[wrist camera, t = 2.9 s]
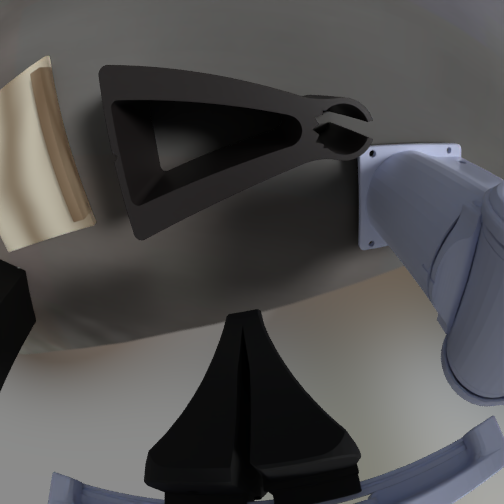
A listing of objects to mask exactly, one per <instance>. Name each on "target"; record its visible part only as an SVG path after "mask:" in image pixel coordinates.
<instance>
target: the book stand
mask: <svg viewBox="0 0 504 504" xmlns="http://www.w3.org/2000/svg"><path fill="white" fill-rule="evenodd" d="M95 224H96V219H95V217H94V214H93V212H92V209H91V207H90V204H89V202H88V199H87V196H86V194H85V191H84V188H83V185H82V183H81V180H80V177H79V174H78V171H77V168H76V165H75V162H74V159H73V156H72V152H71V149H70V146H69V142H68V139H67V135H66V132H65V128H64V124H63V120H62V116H61V112H60V108H59V104H58V99H57V95H56V90H55V85H54V79H53V74H52V68H51V62H50V56H45V57H43V58H42V59H41V60H39V61H38V62H36V63H35V64H33V65H32V66H30V67H29V68H28V69H26V70H25V71H24V72H22V73H21V74H20V75H18V76H17V77H16V78H14V79H13V80H12V81H11V82H9V83H8V84H7V85H6V86H4V87H3V88H2V89H1V90H0V236H1V238H2V240H3V242H4V244H5V246H6V248H7V250H8V252H11V251H14V250H17V249H20V248H23V247H25V246H28V245H31V244H34V243H37V242H40V241H43V240H47V239H50V238H53V237H56V236H59V235H62V234H66V233H69V232H72V231H76V230H79V229H83V228H86V227H89V226H93V225H95Z"/></svg>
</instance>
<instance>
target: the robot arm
mask: <svg viewBox="0 0 504 504" xmlns="http://www.w3.org/2000/svg"><path fill="white" fill-rule="evenodd" d="M447 148H448V151H447ZM371 150H373V151H374V153H373V155H372V156H370V155H369V153H370V151H371ZM358 182H359V238H358V245H359V247H360V248H361V249H362V250H368V249H374V248H379V247H384V246H389V247H390V248H391V249H392V251H393V252H394V253H395V254H396V256H397V257H398V258H399V259H400V261H401V262H402V263H403V264H404V266H405V267H406V268H407V270H408V271H409V272H410V274H411V275H412V276H413V278H414V279H415V280H416V282H417V283H418V284H419V286H420V287H421V289H422V290H423V291H424V293H425V294H426V296H427V297H428V298H429V300H430V301H431V303H432V305H433V306H434V307H435V309H436V310H437V312H438V317H437V321H438V322H439V324H440V325H441V327H442V328H443V330H444V332H445V333H446V334H447V335H446V337H445V339H444V342H443V345H442V350H441V362H442V368H443V371H444V375H445V377H446V379H447V381H448V383H449V384H450V386H451V387H452V389H453V390H454V391H455V392H456V393H457V394H458V395H459V396H461V397H462V398H463V399H464V400H466V401H468V402H470V403H472V404H476V405H479V406H495V405H504V180H503V179H501V178H499V177H498V176H496V175H494V174H492V173H491V172H489V171H487V170H485V169H483V168H481V167H479V166H477V165H475V164H473V163H471V162H469V161H467V160H465V159H463V158H461V146H460V145H459V144H456V143H411V144H388V145H372V146H370V147H369V148H368V150H367V151H366V152H365V153H364V154H362V155H361V156H359V157H358ZM370 241H372V243H371V244H369V242H370ZM360 458H361V453H360V451H359V449H358V447H357V445H356V443H355V442H354V441H353V439H352V438H351V436H350V435H349V434H348V432H347V431H346V430H345V429H344V428H343V427H342V426H341V425H339V424H338V423H337V422H336V421H335V420H334V419H333V418H331V417H330V416H329V415H328V414H327V413H326V412H325V411H324V410H323V409H322V408H321V407H320V406H319V405H318V404H317V403H316V402H315V401H314V400H313V399H312V398H311V396H310V395H309V394H308V393H307V392H306V391H305V390H304V388H303V387H302V386H301V385H300V384H299V382H298V381H297V380H296V379H295V377H294V376H293V375H292V373H291V372H290V370H289V369H288V368H287V366H286V365H285V363H284V361H283V360H282V358H281V357H280V355H279V354H278V352H277V350H276V349H275V347H274V345H273V343H272V341H271V339H270V337H269V335H268V333H267V331H266V328H265V326H264V322H263V318H262V314H261V311H260V310H258V309H256V310H251V311H245V312H239V313H234V314H229V315H228V316H227V317H226V322H225V325H224V329H223V332H222V335H221V338H220V341H219V344H218V346H217V349H216V351H215V354H214V357H213V359H212V361H211V363H210V366H209V368H208V370H207V372H206V374H205V376H204V378H203V380H202V382H201V384H200V386H199V387H198V389H197V391H196V393H195V394H194V396H193V398H192V399H191V401H190V402H189V404H188V405H187V407H186V408H185V410H184V411H183V413H182V414H181V415H180V417H179V418H178V419H177V420H176V422H175V423H174V424H173V425H172V427H171V428H170V429H169V430H168V432H167V433H166V434H165V435H164V436H163V437H162V438H161V439H160V440H159V441H158V442H157V443H156V444H155V445H154V446H153V447H152V448H151V449H150V450H149V452H148V456H147V460H146V466H145V476H144V482H145V483H146V484H147V485H148V486H150V487H152V488H155V489H158V490H160V491H163V492H165V500H161V499H153V498H146V497H140V496H134V495H129V494H123V493H119V492H114V491H109V490H105V489H101V488H97V487H93V486H90V485H86V484H83V483H82V482H80V481H78V480H75V479H73V478H70V477H68V476H65V475H62V474H59V473H56V472H53V475H52V480H51V487H50V493H49V500H48V504H338V503H342V502H345V501H349V500H353V499H356V498H360V497H363V496H366V495H369V494H371V495H370V496H369V497H368V500H364V501H361V502H358V503H355V504H453V503H454V502H456V501H458V500H459V499H461V498H462V497H464V496H465V495H467V494H468V493H469V492H471V491H472V490H474V489H475V488H477V487H478V486H479V485H480V484H482V483H483V482H485V481H486V480H487V479H489V478H490V477H492V476H493V475H494V474H495V473H497V472H498V471H499V470H501V469H502V468H503V467H504V437H503V435H502V432H501V430H500V427H499V425H498V423H497V421H496V419H495V416H491V417H490V418H488V419H487V420H485V421H484V422H482V423H481V424H479V425H478V426H476V427H474V428H473V429H472V430H470V431H469V432H468V433H466V434H465V435H464V436H463V437H462V438H461V439H459V440H457V441H455V442H454V443H452V444H450V445H448V446H446V447H444V448H442V449H440V450H438V451H437V452H434V453H432V454H430V455H428V456H426V457H424V458H422V459H420V460H418V461H415V462H413V463H411V464H408V465H406V466H403V467H401V468H398V469H396V470H394V471H391V472H388V473H385V474H382V475H380V476H377V477H374V478H371V479H368V480H364V481H361V482H360V481H359V476H358V473H359V470H358V466H357V462H358V461H359V459H360ZM267 492H269V493H271V494H272V495H273V498H274V500H266V501H254V500H260V499H261V498H262V497H264V495H266V493H267Z"/></svg>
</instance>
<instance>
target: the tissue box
mask: <svg viewBox="0 0 504 504" xmlns="http://www.w3.org/2000/svg"><path fill="white" fill-rule="evenodd" d="M35 322H36V319H35V315H34V311H33V307H32V303H31V298H30V294H29V289H28V284H27V279H26V273H25V271H24V270H21V269H20V268H19V267H18V268H17V267H15V266H13V265H10V264H8V263H6V262H4V261H2V260H0V391H1V389H2V386H3V384H4V382H5V380H6V377H7V375H8V373H9V371H10V369H11V367H12V365H13V363H14V361H15V359H16V357H17V355H18V353H19V351H20V349H21V347H22V345H23V343H24V341H25V340H26V338H27V336H28V334H29V332H30V331H31V329H32V327H33V325H34V324H35Z"/></svg>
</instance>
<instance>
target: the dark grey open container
mask: <svg viewBox="0 0 504 504" xmlns="http://www.w3.org/2000/svg"><path fill="white" fill-rule="evenodd" d="M99 82H100V89H101V96H102V102H103V108H104V114H105V120H106V125H107V130H108V136H109V140H110V145H111V150H112V154H115V155H116V156H117V159H116V161H114V163H115V167H116V171H117V175H118V179H119V183H120V187H121V191H122V195H123V198H124V202H125V206H126V209H127V213H128V216H129V219H130V223H131V226H132V229H133V232H134V235H135V237H136V238H137V239H139V240H145V239H147V238H149V237H151V236H152V235H154V234H156V233H158V232H160V231H162V230H164V229H166V228H168V227H170V226H171V225H173V224H175V223H177V222H179V221H181V220H183V219H185V218H187V217H189V216H191V215H193V214H195V213H197V212H199V211H201V210H203V209H205V208H207V207H209V206H211V205H213V204H215V203H217V202H220V201H222V200H224V199H226V198H228V197H230V196H232V195H234V194H236V193H239V192H241V191H243V190H245V189H247V188H249V187H252V186H254V185H256V184H258V183H260V182H263V181H265V180H267V179H269V178H272V177H274V176H276V175H278V174H281V173H283V172H285V171H288V170H290V169H292V168H295V167H297V166H299V165H302V164H304V163H307V162H310V161H314V160H320V159H335V160H342V161H346V160H352V159H355V158H357V157H359V156H361V155H362V154H364V153H365V152H366V151H367V150H368V148H369V147H370V145H371V143H372V141H373V139H371V138H369V137H366V136H364V135H362V134H359V133H357V132H354V131H352V130H349V129H347V128H344V127H342V126H339V125H336V124H334V123H331V122H329V125H328V127H327V128H326V129H325V130H324V131H323V132H321V133H319V134H318V133H316V132H315V131H313V129H314V128H315V127H316V126H317V125H319V123H318V122H317V120H316V118H315V117H316V116H319V115H323V113H322V110H327V109H328V110H329V111H330V112H334V113H338V114H342V115H345V116H349V117H353V118H356V119H360V120H363V121H366V122H370V121H373V118H372V116H371V114H370V112H369V111H368V110H367V108H366V107H365V106H364V105H362V104H361V103H360V102H358V101H356V100H354V99H351V98H345V97H334V96H321V95H306V96H299V95H296V94H292V93H289V92H286V91H282V90H279V89H275V88H271V87H267V86H263V85H259V84H255V83H251V82H247V81H242V80H238V79H233V78H228V77H223V76H218V75H212V74H206V73H200V72H193V71H186V70H178V69H169V68H159V67H146V66H127V65H105V66H103V67H102V68H101V69H100V71H99ZM149 100H169V101H188V102H201V103H212V104H222V105H230V106H238V107H246V108H252V109H259V110H265V111H271V112H277V113H280V114H281V117H282V121H281V124H280V125H279V127H277V128H276V129H274V130H271V131H268V132H265V133H262V134H259V135H256V136H253V137H250V138H248V139H245V140H242V141H239V142H237V143H234V144H231V145H229V146H226V147H224V148H221V149H218V150H216V151H213V152H211V153H208V154H206V155H204V156H201V157H199V158H196V159H194V160H192V161H189V162H187V163H185V164H182V165H180V166H178V167H176V168H173V169H171V170H169V171H163V170H162V169H161V167H160V162H159V157H158V152H157V146H156V141H155V136H154V130H153V124H152V118H151V112H150V106H149Z"/></svg>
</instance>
